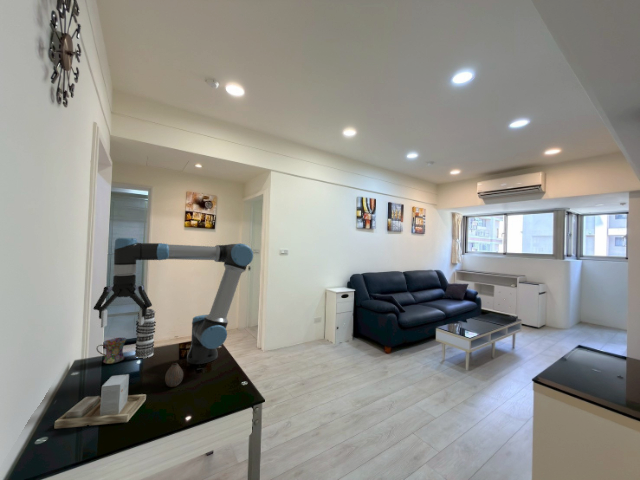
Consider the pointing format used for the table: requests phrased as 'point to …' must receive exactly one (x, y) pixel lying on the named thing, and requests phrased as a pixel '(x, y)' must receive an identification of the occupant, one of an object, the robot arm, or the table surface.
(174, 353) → the table surface
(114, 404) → the small box
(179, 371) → the vase
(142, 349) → the decorative candle
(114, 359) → the mug
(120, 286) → the robot arm
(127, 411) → the organizer
